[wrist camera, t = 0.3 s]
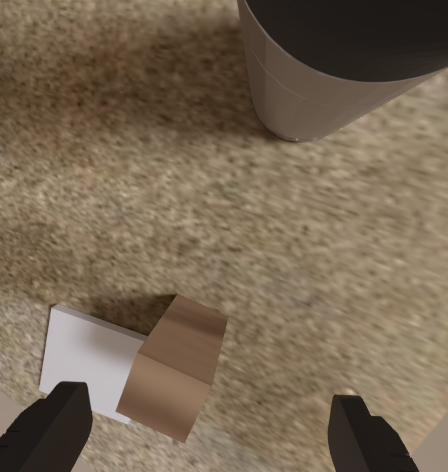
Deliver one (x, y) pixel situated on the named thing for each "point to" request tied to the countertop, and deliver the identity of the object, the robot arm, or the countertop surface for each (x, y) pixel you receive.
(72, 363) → the ceramic tile
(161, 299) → the countertop surface
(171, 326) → the walnut block
